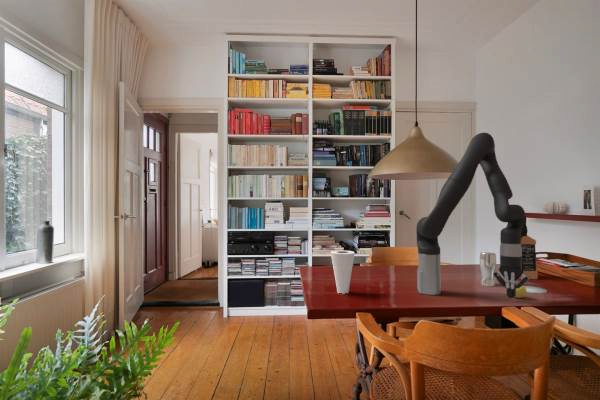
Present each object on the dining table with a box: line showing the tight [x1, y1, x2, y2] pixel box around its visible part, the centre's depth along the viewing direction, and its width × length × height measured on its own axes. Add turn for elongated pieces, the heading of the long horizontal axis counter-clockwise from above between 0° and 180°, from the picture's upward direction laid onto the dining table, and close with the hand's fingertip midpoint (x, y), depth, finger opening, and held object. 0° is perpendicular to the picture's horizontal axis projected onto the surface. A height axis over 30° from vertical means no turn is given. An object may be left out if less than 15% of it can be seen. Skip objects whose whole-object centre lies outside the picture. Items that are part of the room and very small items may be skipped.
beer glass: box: [479, 251, 497, 287], centre depth 165 cm, size 7×7×15 cm
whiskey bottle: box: [518, 215, 539, 280], centre depth 180 cm, size 10×10×32 cm
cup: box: [330, 249, 355, 295], centre depth 153 cm, size 11×11×18 cm
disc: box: [523, 285, 548, 294], centre depth 155 cm, size 12×12×1 cm
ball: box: [514, 283, 528, 299], centre depth 143 cm, size 6×6×6 cm
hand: (511, 297), depth 138 cm, fingers closed
